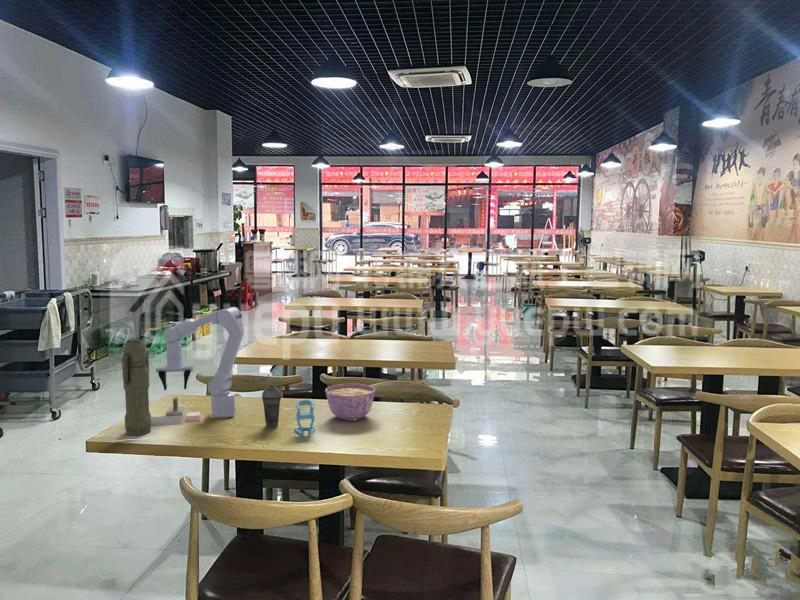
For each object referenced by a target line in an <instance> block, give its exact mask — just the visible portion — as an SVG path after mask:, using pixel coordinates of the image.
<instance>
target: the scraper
mask: <svg viewBox="0 0 800 600" xmlns="http://www.w3.org/2000/svg"><path fill="white" fill-rule="evenodd" d="M185 409H186V407H185V405H182V406H181V405H179V397H176V396H175V397H173V399H172V406H169V407H168V409H167V411H166V416H180V415H184V411H185Z"/></svg>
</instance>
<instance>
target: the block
mask: <svg viewBox="0 0 800 600" xmlns="http://www.w3.org/2000/svg"><path fill="white" fill-rule="evenodd" d="M201 414H202V412H201V411H195V412H194V411H192V412H191V411H190V412H187V413H186V415H187V416H186V421H199V420H200V418H201Z"/></svg>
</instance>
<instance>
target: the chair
mask: <svg viewBox="0 0 800 600" xmlns="http://www.w3.org/2000/svg"><path fill="white" fill-rule="evenodd" d="M295 406H296V409H297V412H295V415H296V422H297V426H298V427H294V432H295V433H297V434H298V435H299V436H301V437H302V438H303V437H305V433H304V431H308V432H307V437H311V436H312V434H313V433H314V432H315V431H316V426H313V425H314V422H315V412H314V408H315V402H313V401H311V400H309V399H303V400H300V401H298V402H297V403H295ZM301 406H309V407H310V408H309V411H305V412H304V411H303V412H302V411H301V409H300V407H301ZM300 420H311V422H310V426H307V427H304V426H303V427H302V424H301V422H300Z"/></svg>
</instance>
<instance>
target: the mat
mask: <svg viewBox="0 0 800 600" xmlns="http://www.w3.org/2000/svg"><path fill="white" fill-rule="evenodd" d="M186 416H187V414H183V415H165V416H151V427H156V426H157V427H159V426H176V425H177V426H178V425H194V424H196V425H197V424H204V421H205V417H206V414H205V413H204V414H202V413H201V418H200V420H199V421H186Z"/></svg>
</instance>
